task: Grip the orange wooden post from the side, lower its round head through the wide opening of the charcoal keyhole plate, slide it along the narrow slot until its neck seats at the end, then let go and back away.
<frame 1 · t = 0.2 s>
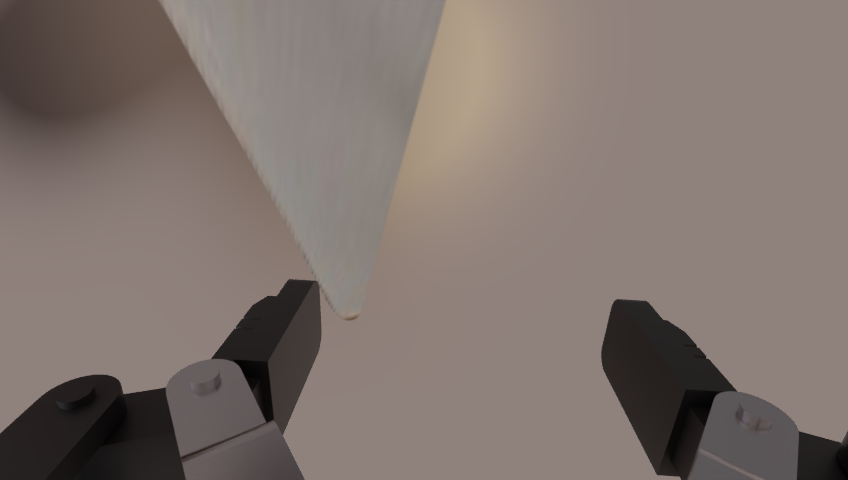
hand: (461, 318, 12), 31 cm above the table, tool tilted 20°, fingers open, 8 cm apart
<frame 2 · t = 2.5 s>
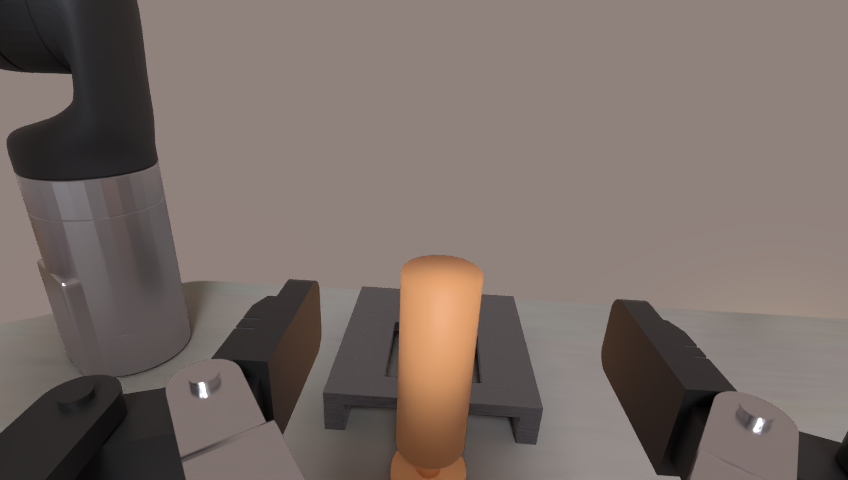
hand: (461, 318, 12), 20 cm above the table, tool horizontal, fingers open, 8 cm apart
keyhole plate: (433, 367, 41), on the table
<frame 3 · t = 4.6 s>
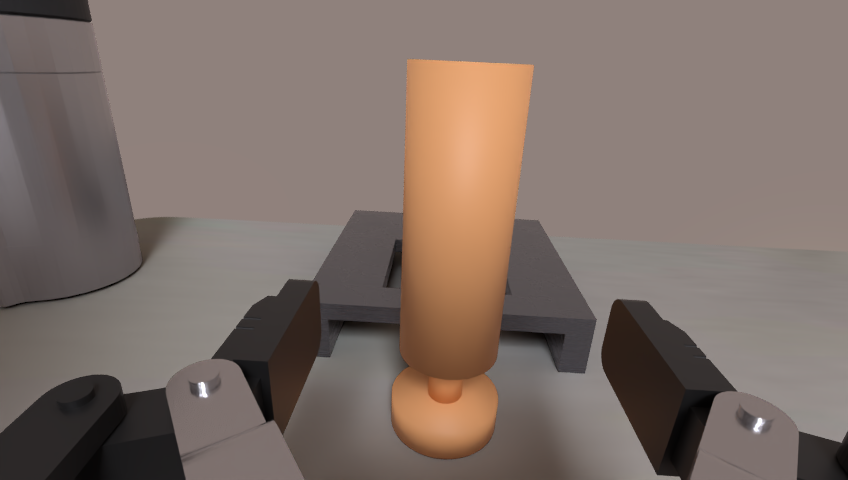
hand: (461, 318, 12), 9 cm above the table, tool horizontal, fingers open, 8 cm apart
keyhole plate: (443, 295, 33), on the table
post: (442, 416, 22), on the table
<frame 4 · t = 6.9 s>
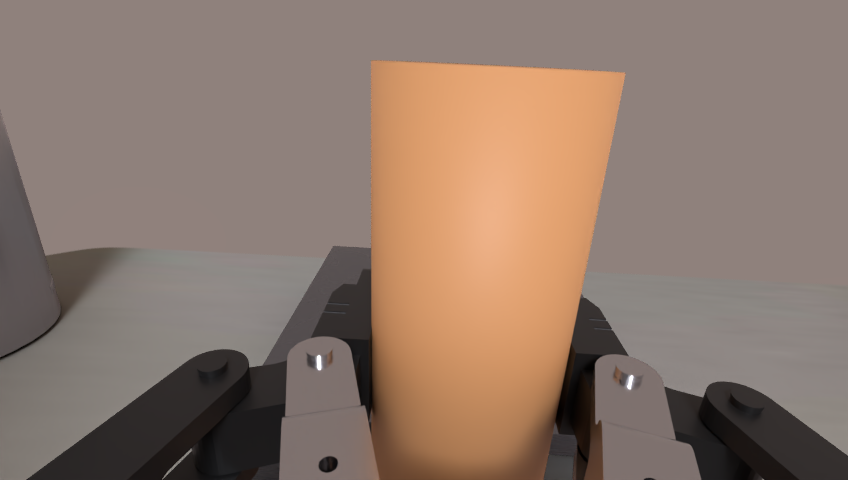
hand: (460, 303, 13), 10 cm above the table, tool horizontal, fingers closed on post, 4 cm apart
keyhole plate: (443, 366, 25), on the table
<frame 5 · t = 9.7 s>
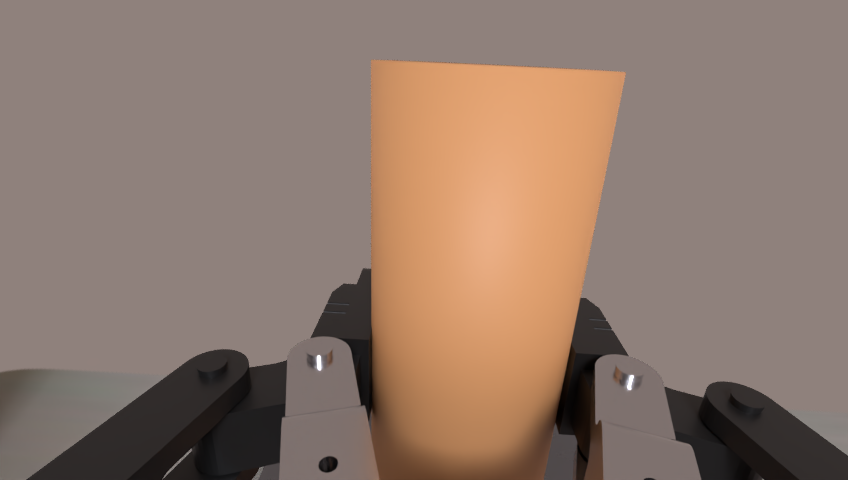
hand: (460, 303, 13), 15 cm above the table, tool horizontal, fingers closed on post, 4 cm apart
when the fingers open (10 cm above the table, at t = 12.9 s): post stays where it is, on the table.
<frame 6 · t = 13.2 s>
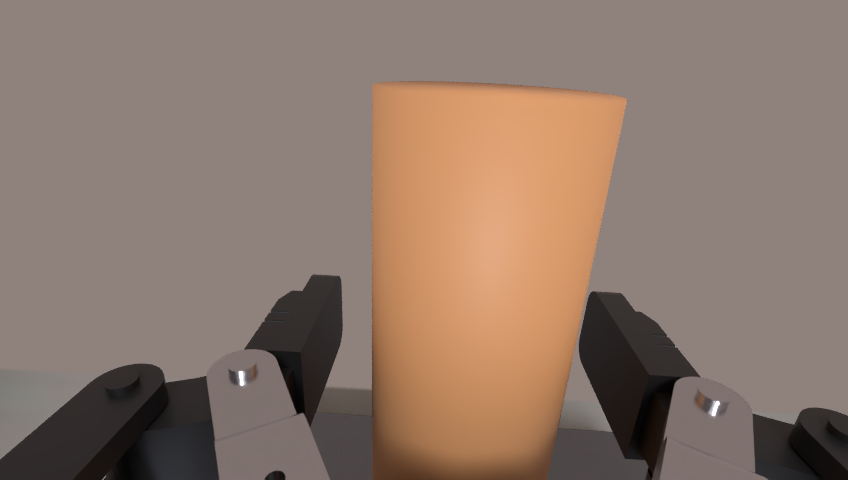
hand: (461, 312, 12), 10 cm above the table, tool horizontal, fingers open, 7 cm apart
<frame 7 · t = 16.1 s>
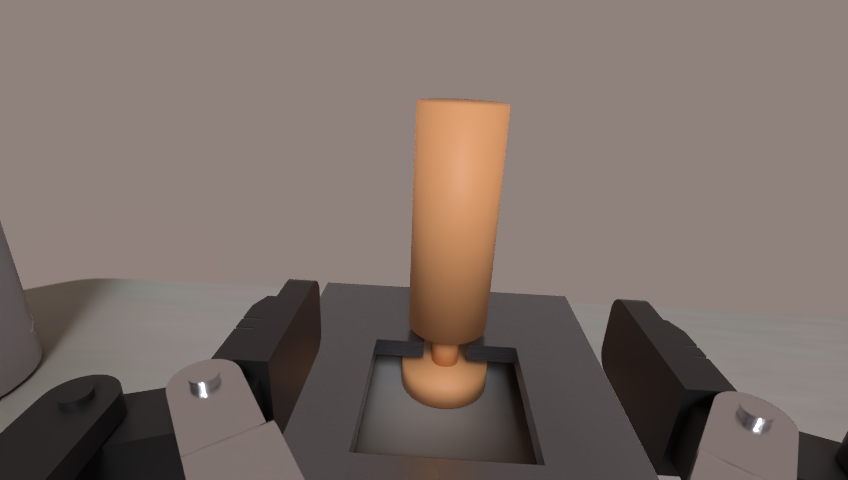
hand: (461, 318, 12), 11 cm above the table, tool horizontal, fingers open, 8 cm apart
keyhole plate: (442, 417, 24), on the table
post: (443, 378, 27), on the table
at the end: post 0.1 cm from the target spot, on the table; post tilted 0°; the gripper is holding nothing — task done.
